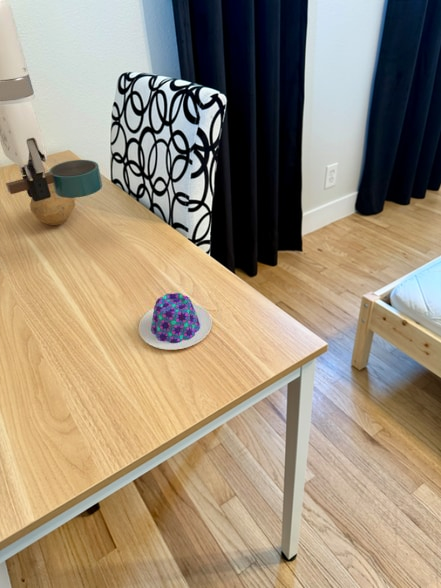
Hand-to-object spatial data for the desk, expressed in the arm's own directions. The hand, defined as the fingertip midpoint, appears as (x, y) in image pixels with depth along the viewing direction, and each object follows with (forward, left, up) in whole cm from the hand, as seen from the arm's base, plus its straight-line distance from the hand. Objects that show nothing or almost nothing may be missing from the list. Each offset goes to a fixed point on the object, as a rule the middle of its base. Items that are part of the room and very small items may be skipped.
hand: (39, 196), depth 79 cm
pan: (+4, 0, -1) cm, 4 cm away
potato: (+7, +18, -15) cm, 25 cm away
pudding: (+7, -33, -15) cm, 36 cm away
